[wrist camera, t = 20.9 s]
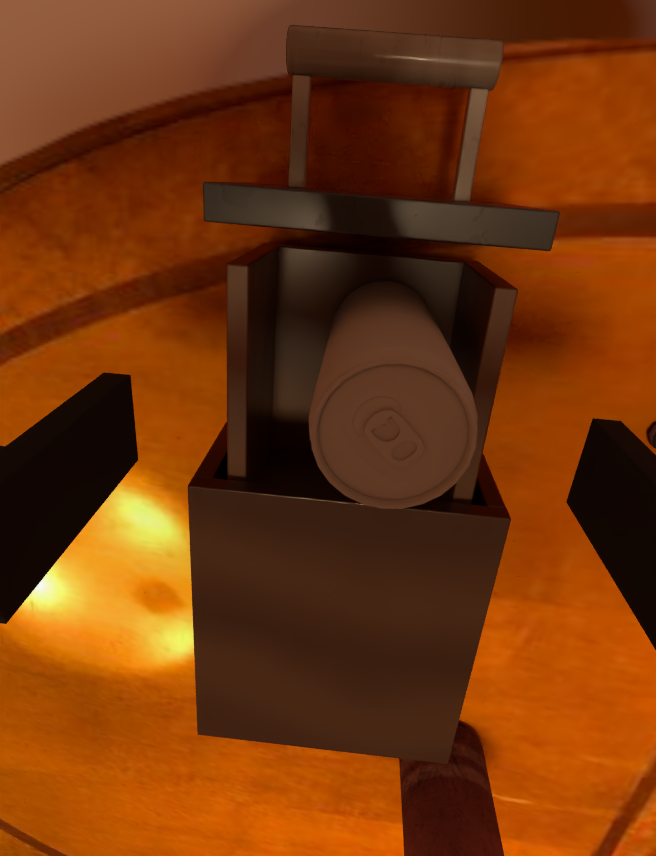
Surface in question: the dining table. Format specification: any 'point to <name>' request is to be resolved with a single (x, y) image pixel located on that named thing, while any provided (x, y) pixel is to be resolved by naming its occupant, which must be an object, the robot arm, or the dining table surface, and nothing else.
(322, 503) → the cabinet
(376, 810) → the dining table surface
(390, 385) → the beverage can
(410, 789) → the dark brown cylinder
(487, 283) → the drawer
